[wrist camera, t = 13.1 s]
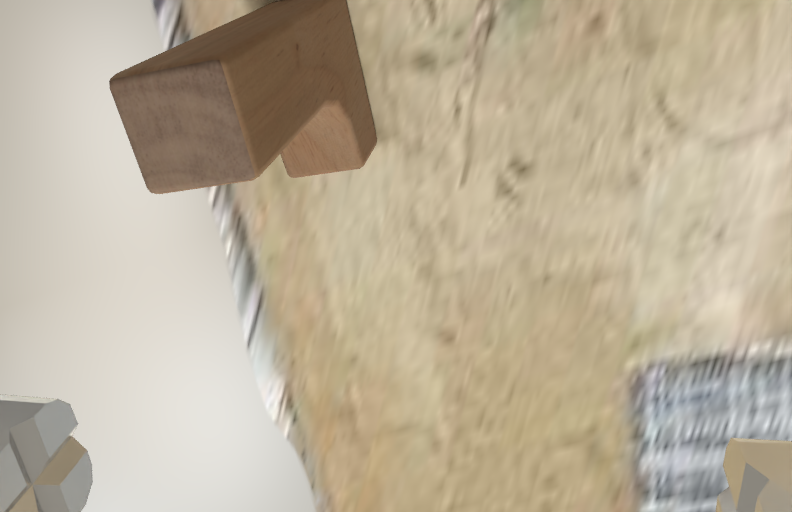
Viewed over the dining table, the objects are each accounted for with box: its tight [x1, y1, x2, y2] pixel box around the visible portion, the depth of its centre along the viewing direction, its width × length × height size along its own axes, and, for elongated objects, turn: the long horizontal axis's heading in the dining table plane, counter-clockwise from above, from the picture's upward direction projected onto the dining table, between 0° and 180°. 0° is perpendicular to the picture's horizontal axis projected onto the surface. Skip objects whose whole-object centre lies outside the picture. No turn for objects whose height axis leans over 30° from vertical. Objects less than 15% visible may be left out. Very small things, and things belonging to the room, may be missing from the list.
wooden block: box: [109, 0, 377, 194], centre depth 34 cm, size 9×4×18 cm, turn 12°
